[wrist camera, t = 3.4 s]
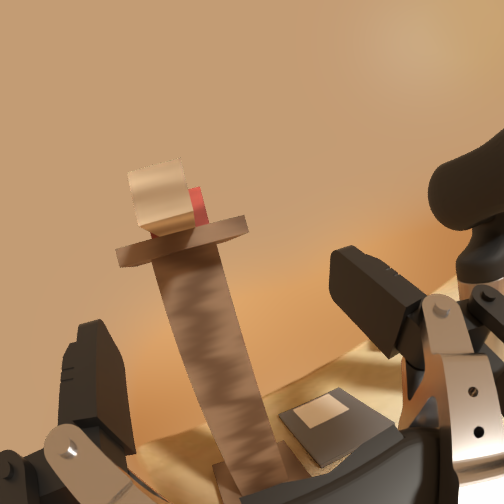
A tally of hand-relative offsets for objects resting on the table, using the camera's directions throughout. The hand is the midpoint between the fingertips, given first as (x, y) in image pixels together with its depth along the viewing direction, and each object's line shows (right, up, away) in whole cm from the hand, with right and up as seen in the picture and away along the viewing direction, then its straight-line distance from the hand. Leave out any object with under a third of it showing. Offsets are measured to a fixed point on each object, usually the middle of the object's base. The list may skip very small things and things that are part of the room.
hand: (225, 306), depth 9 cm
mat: (+13, -24, +29) cm, 40 cm away
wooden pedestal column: (+2, -28, +20) cm, 34 cm away
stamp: (-5, +3, +14) cm, 15 cm away
